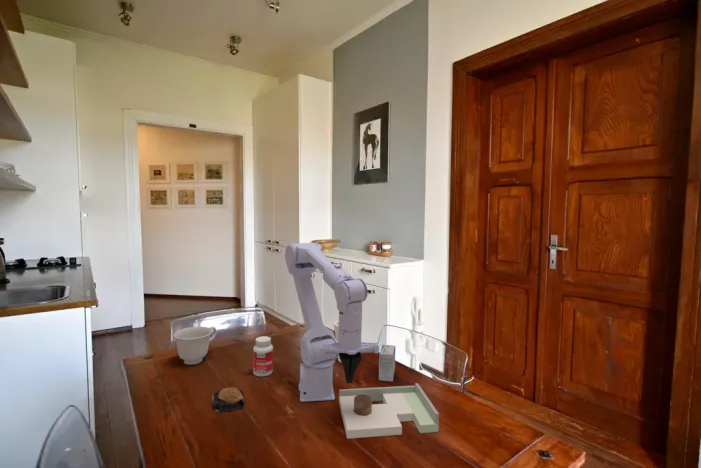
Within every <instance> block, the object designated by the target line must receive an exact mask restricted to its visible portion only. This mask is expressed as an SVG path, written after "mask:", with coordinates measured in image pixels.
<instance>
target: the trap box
mask: <svg viewBox="0 0 701 468" xmlns="http://www.w3.org/2000/svg"><path fill="white" fill-rule="evenodd" d="M357 395H368V396H370V397H371V398H372V402H382V403H377V404H376V403H375V404H373V403H372V412H371V414H369V415H366V416H360V415H357V414H356V413H355V412H354V397H355V396H357ZM338 403H339V408H340V413H341V418H342V422H343V426H344V427H343V428H344V432H345V435H346V439H359V438H360V439H361V438H373V437H374V438H377V437H388V436H401V435H403V426H402V425H403V424H402V423H401V422H404V423H405V422H413V423H414V425H415V426H416V429H417V430H418V432H419V434H429V433H430V434H431V433H439V428H440V427H439V425H440V424H439V421H440V413H439V412H438V410H437V408H436V407H435V406H434V405H433V403H432V401H431V400H430V399H429V397H428V396H427V394H426V393H425V391H424V390H423V388H422V387H421V385H420V384H419V383H418V382H416V383H414V385H402V386H401V385H400V386H399V385H398V386H384V387H383V386H380V387H365V388H364V387H362V388H361V387H359V388H348V389H347V388H345V389H339V390H338Z"/></svg>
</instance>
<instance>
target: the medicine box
mask: <svg viewBox="0 0 701 468" xmlns="http://www.w3.org/2000/svg"><path fill="white" fill-rule="evenodd" d="M378 354H379V356H378V357H379V358H378V381H382V382H391V383H392V382H394V377H395V373H396V345H394V344H393V345H392V344H382V346H381V349H380V351H379V353H378Z"/></svg>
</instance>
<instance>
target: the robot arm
mask: <svg viewBox="0 0 701 468" xmlns="http://www.w3.org/2000/svg"><path fill="white" fill-rule="evenodd" d="M323 251H324V250H323V246H322V245H321V244H320V243H319V242H318V241H314V242H301V243H299V242H298V243H297V242H296V243H295V242H290V243H288V244H287V246H286V247H285V253H284V259H285V263H286V266H287V271H288V274H290V275H292V278H293V282H294V286H295V289H296V290H295V291H296V293H297V297H298V302H299V307H300V309H301V315H302V317H303V318H302V319H303V321H304V322H303V323H304V326H305V330H306V331H305V333H304V334H303V335H302V337H301V338H300V340H299V344H300V357H301V360H302V362H303V363H300V365H299V383H298V391H299V401H300V402H301V403H303V402H321V401H334V400H335V399H336V397H335V396H336V395H335V391H334V387H333V373H334V371H333V368H334V364H335V363H336V360H338V356H339V357H340V360H341V362H342V363H341V362H340V363H341V364H342V367H343V371H344V375H345V382H346V384H352V383H353V381H354V377H355V373H356V370H357V368H358V366H359V364H360V363H361V361H362V355H361V354H366V353H367V354H368V353H374V354H380V351H379V349H380V345H379V344H378V342H365V341H364V342H363V341H362V323H363V321H362V320H363V318H362V317H363V316H362V315H363V302H365V301H366V300H367V297H368V292H369V291H368V287H367V284H366V282H365V281H364V280H363V279H362V278H355V277H352V275H351V274H349V273H348V272H347V271H346V270H345V269H344V268H343V267H342V265H341V264H340V263H332V262H331V261H330V260H329V258H328V257H327V256H326V254H324V252H323ZM317 270H318V271H320V272H321V273H322V280H323V281H324V282H325V284H327V286H328V287H330V289H331V290H332V291H333V294H334V298H335V301H336V308H337V311H338V320H339V331H338V342H337V340H336V338H335V333H334V330H331V329H329V328H328V327H326V326H325V324H324V322H323V318H322V317H323V316H322V313H321V309H320V307H319V306H320V305H319V303H318V300H317V295H316V292H315V288H314V284H313V281H312V274H313V273H314V272H316V271H317Z"/></svg>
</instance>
